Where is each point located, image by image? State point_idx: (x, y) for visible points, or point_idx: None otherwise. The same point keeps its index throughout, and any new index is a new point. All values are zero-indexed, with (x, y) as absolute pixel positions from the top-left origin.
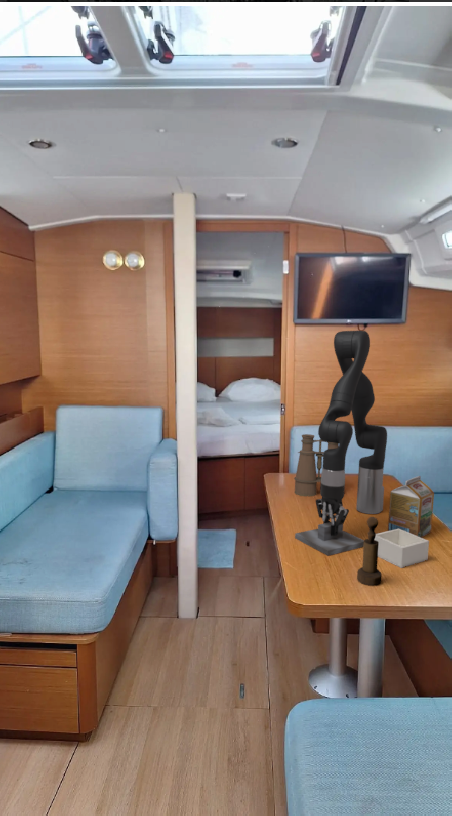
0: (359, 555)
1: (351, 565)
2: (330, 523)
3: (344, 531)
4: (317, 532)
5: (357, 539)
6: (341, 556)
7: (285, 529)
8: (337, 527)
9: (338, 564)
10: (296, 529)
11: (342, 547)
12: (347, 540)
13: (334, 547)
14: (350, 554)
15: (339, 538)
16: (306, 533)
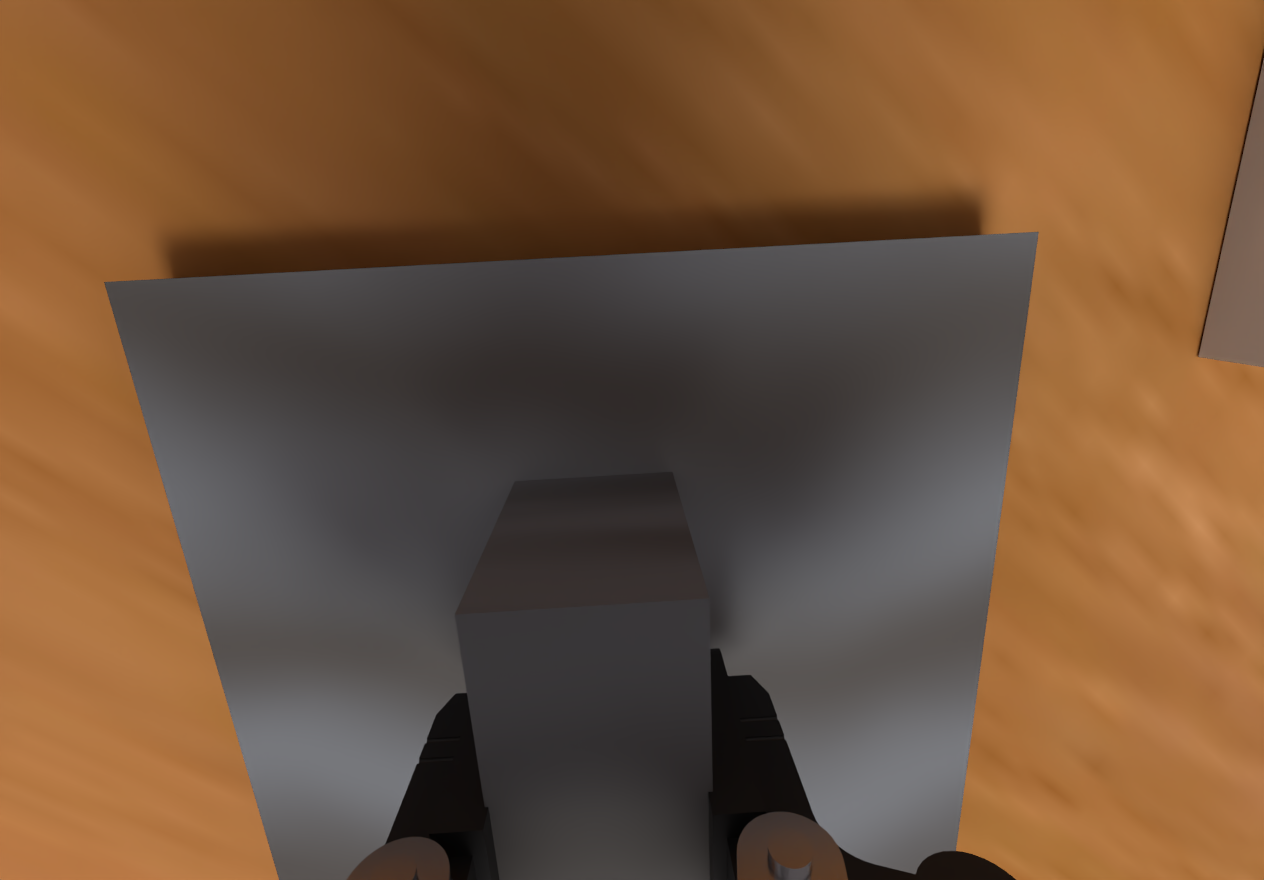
0: (1126, 542)
1: (1226, 778)
2: (570, 850)
3: (477, 267)
4: (359, 703)
5: (893, 317)
6: (1010, 737)
7: (7, 850)
8: (803, 812)
9: (1122, 866)
10: (33, 739)
11: (972, 712)
12: (833, 500)
13: (918, 800)
14: (1036, 619)
15: (709, 561)
16: (344, 845)
